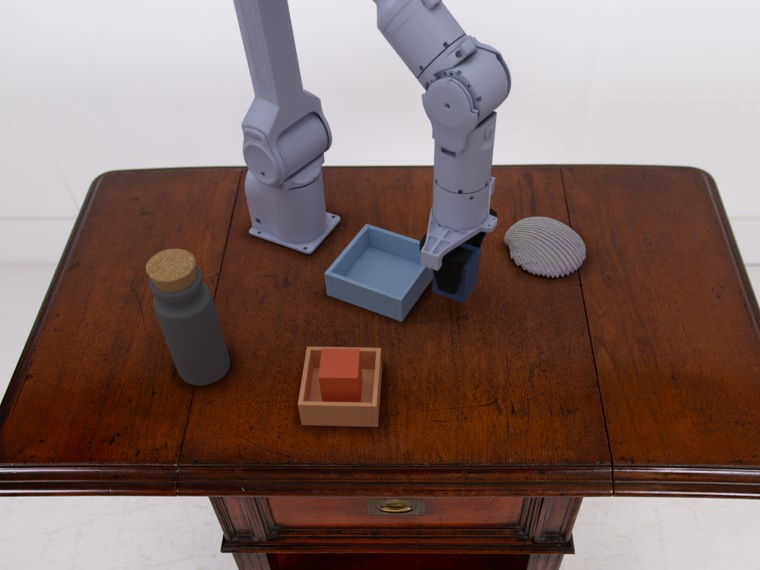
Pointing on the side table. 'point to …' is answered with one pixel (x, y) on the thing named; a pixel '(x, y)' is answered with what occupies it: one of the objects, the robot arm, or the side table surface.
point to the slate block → (464, 277)
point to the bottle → (187, 317)
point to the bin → (379, 273)
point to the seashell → (545, 246)
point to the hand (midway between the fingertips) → (455, 278)
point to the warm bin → (341, 412)
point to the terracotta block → (340, 375)
